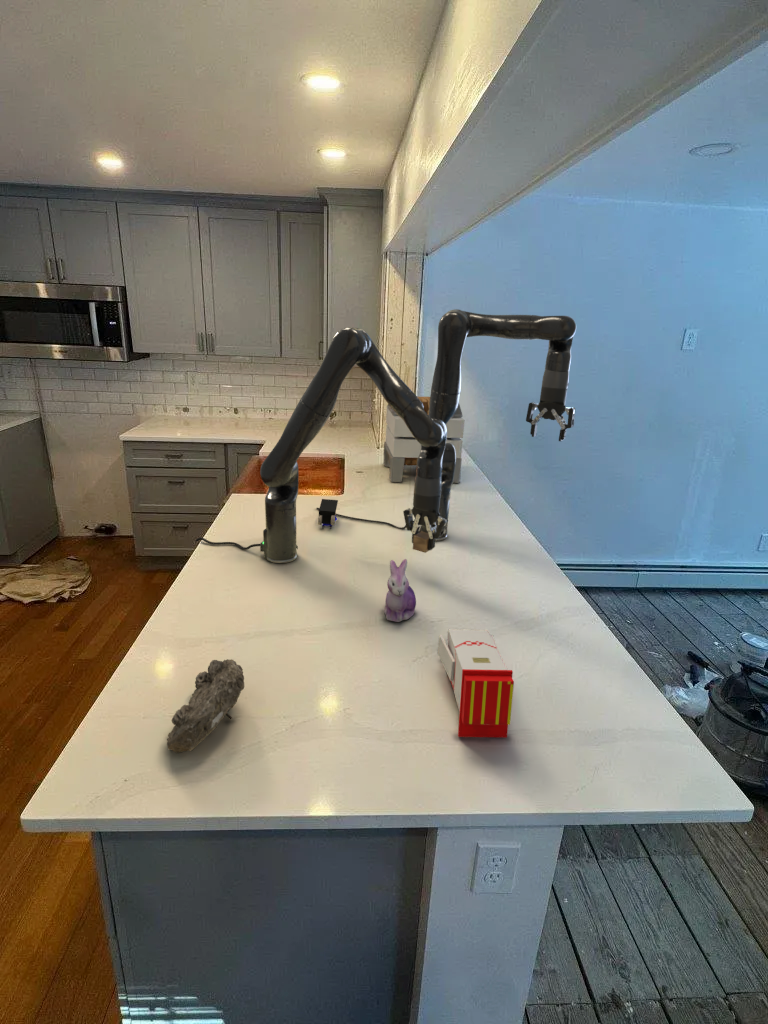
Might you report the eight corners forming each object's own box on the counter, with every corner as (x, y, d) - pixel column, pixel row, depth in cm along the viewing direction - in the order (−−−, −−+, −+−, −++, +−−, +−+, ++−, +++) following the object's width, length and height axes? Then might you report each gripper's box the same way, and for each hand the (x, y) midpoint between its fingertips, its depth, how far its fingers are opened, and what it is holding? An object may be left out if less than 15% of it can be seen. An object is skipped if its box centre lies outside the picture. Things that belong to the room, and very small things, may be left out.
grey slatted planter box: (382, 463, 289) (386, 382, 275) (445, 464, 293) (451, 384, 279) (390, 482, 257) (394, 392, 243) (460, 483, 261) (468, 394, 247)
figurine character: (335, 535, 199) (338, 516, 213) (336, 516, 196) (338, 497, 209) (316, 534, 199) (320, 515, 213) (316, 515, 196) (320, 497, 209)
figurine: (392, 627, 141) (395, 572, 136) (374, 608, 149) (376, 556, 144) (425, 619, 145) (429, 566, 140) (405, 601, 154) (408, 550, 149)
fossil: (192, 660, 117) (244, 628, 112) (224, 691, 120) (276, 661, 115) (142, 746, 98) (202, 712, 93) (182, 779, 101) (242, 748, 96)
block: (412, 549, 163) (413, 535, 162) (420, 544, 167) (421, 531, 165) (425, 553, 161) (426, 539, 160) (433, 548, 165) (434, 534, 163)
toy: (488, 613, 130) (523, 677, 101) (484, 667, 133) (517, 744, 104) (435, 612, 130) (455, 676, 101) (432, 666, 133) (451, 743, 103)
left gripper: (398, 488, 159) (395, 544, 164) (443, 499, 151) (438, 558, 157) (412, 482, 165) (408, 537, 170) (456, 493, 157) (451, 549, 163)
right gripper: (527, 384, 171) (520, 437, 176) (574, 389, 164) (566, 444, 169) (536, 382, 177) (529, 433, 182) (582, 387, 169) (573, 440, 175)
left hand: (423, 547), depth 164 cm, fingers closed on block, 4 cm apart
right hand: (547, 438), depth 176 cm, fingers open, 8 cm apart
